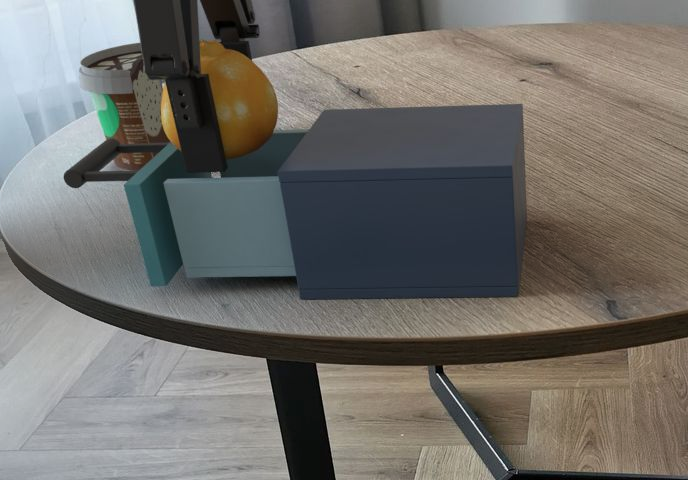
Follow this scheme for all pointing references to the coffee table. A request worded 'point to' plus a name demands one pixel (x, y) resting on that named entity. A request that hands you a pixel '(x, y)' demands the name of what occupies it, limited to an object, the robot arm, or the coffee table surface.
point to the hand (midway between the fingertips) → (227, 148)
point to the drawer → (203, 209)
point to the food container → (125, 100)
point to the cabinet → (408, 203)
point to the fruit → (233, 101)
